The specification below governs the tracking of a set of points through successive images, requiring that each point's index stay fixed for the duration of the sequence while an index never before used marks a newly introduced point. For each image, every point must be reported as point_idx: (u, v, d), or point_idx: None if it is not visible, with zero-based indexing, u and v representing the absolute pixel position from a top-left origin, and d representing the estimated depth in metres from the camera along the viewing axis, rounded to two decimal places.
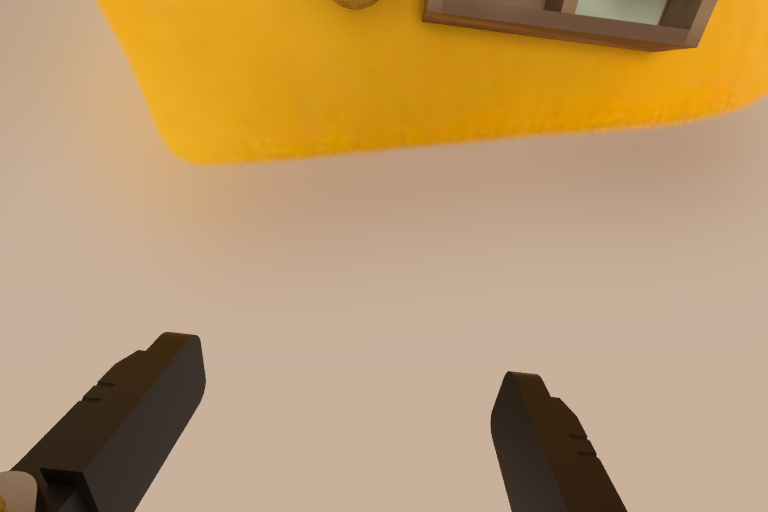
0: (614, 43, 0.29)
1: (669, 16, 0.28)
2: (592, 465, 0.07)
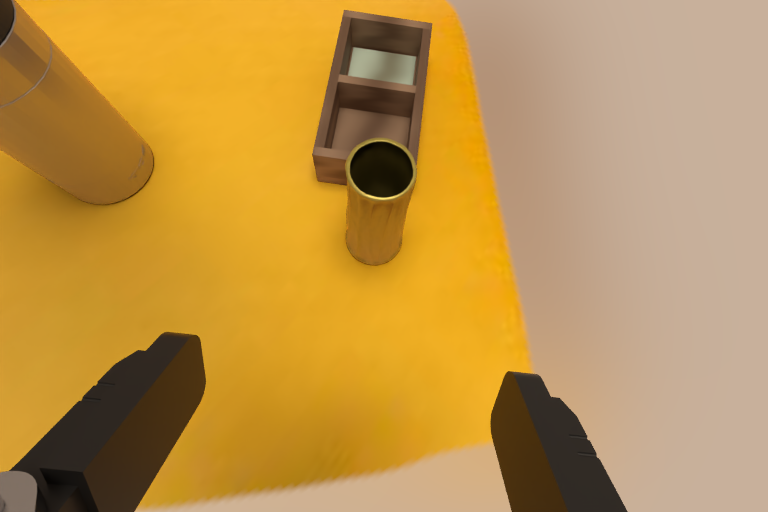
0: None
1: (409, 48, 0.45)
2: (592, 465, 0.07)
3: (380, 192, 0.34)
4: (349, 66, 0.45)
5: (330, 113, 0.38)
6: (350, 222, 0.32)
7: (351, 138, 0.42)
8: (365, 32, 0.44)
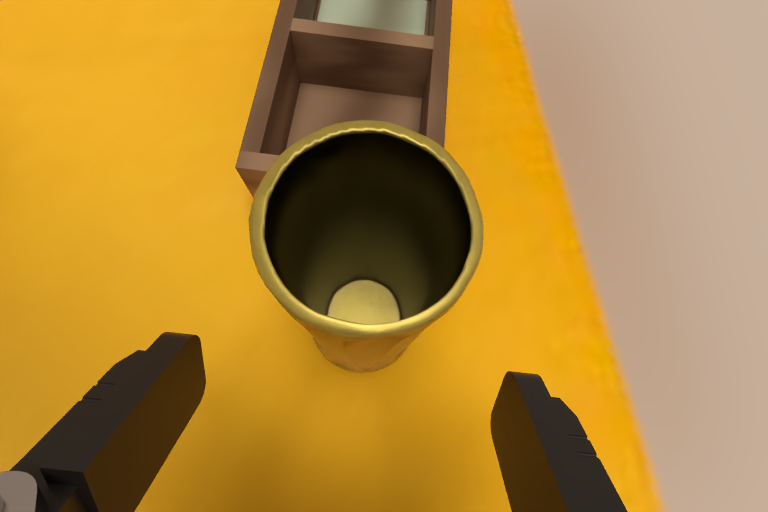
0: None
1: None
2: (592, 465, 0.07)
3: (372, 245, 0.16)
4: (317, 16, 0.27)
5: (274, 87, 0.20)
6: None
7: None
8: None
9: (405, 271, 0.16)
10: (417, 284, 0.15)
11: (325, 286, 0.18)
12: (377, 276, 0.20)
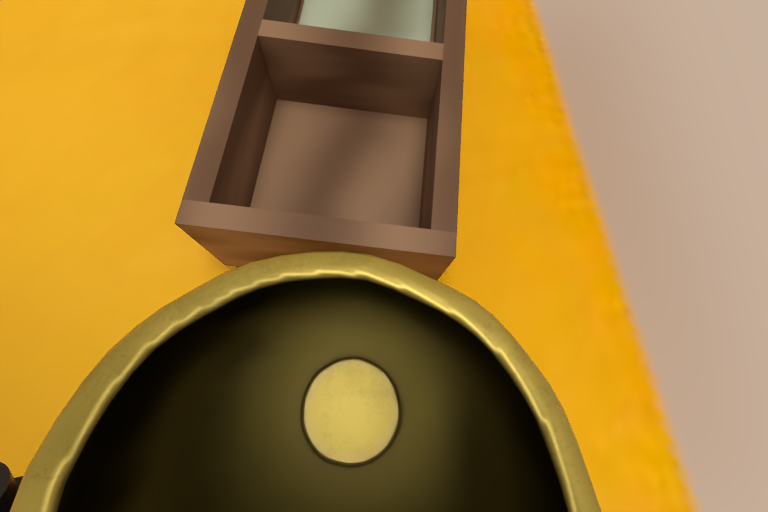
0: None
1: None
2: None
3: (360, 346, 0.11)
4: (300, 17, 0.22)
5: (234, 111, 0.15)
6: None
7: (300, 166, 0.19)
8: None
9: (406, 380, 0.12)
10: (424, 415, 0.10)
11: (296, 387, 0.13)
12: (369, 359, 0.15)
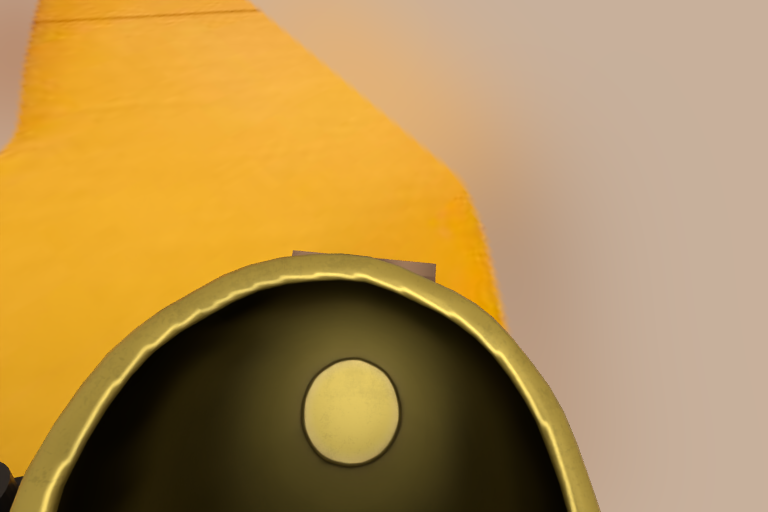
0: None
1: None
2: None
3: (360, 346, 0.11)
4: None
5: None
6: None
7: None
8: None
9: (407, 381, 0.12)
10: (425, 415, 0.10)
11: (296, 388, 0.13)
12: (369, 360, 0.15)
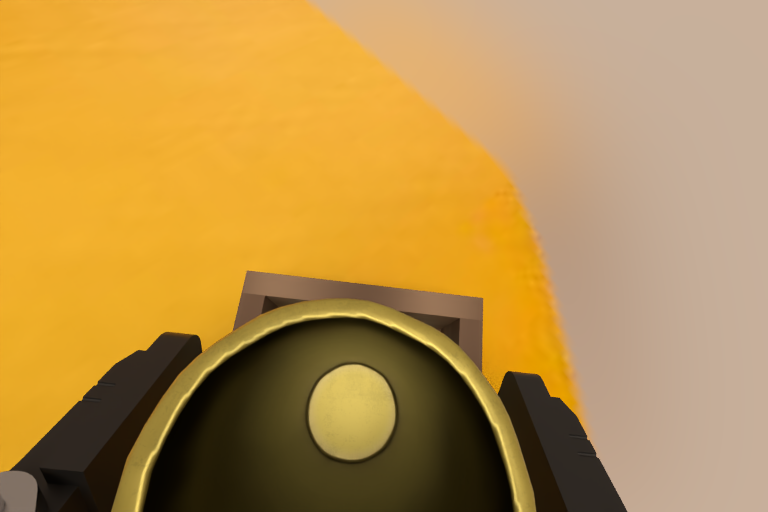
0: None
1: None
2: (592, 465, 0.07)
3: (360, 355, 0.13)
4: None
5: None
6: None
7: None
8: None
9: (402, 385, 0.13)
10: (417, 416, 0.11)
11: (302, 391, 0.14)
12: (369, 364, 0.17)
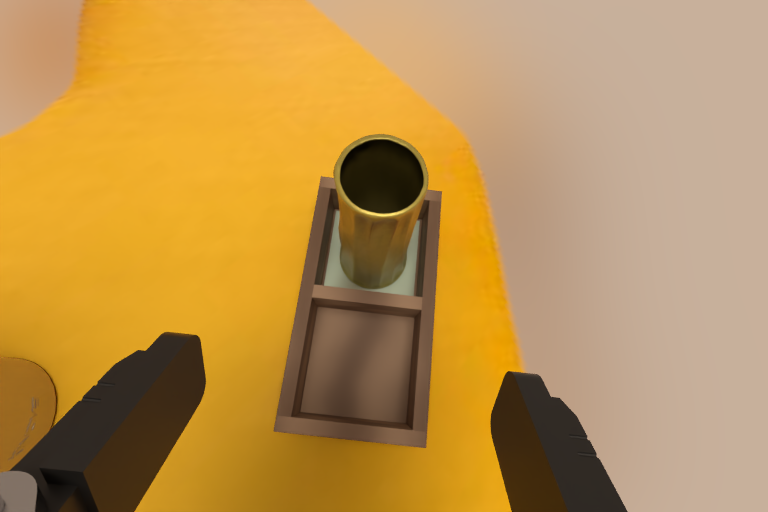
0: None
1: None
2: (592, 465, 0.07)
3: (380, 203, 0.28)
4: (330, 240, 0.33)
5: (301, 353, 0.26)
6: (343, 242, 0.25)
7: (333, 357, 0.30)
8: None
9: None
10: None
11: None
12: None
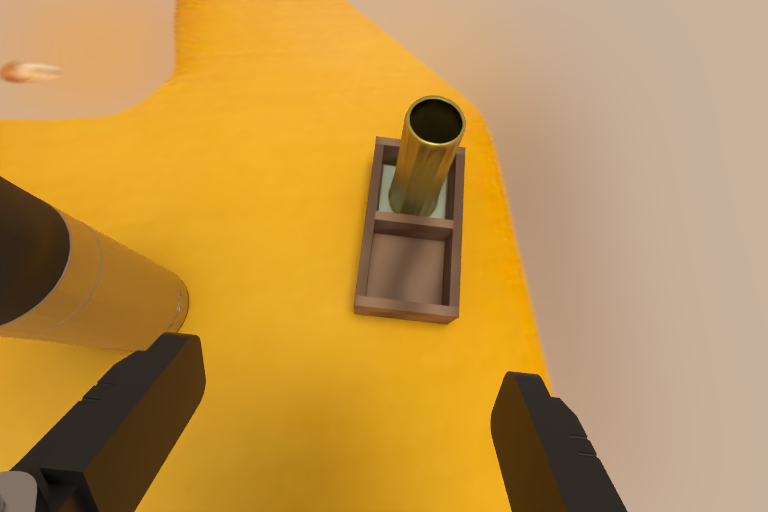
0: None
1: None
2: (592, 465, 0.07)
3: None
4: (380, 186, 0.45)
5: (369, 256, 0.38)
6: (401, 175, 0.36)
7: (387, 268, 0.41)
8: (396, 154, 0.44)
9: None
10: None
11: None
12: None
